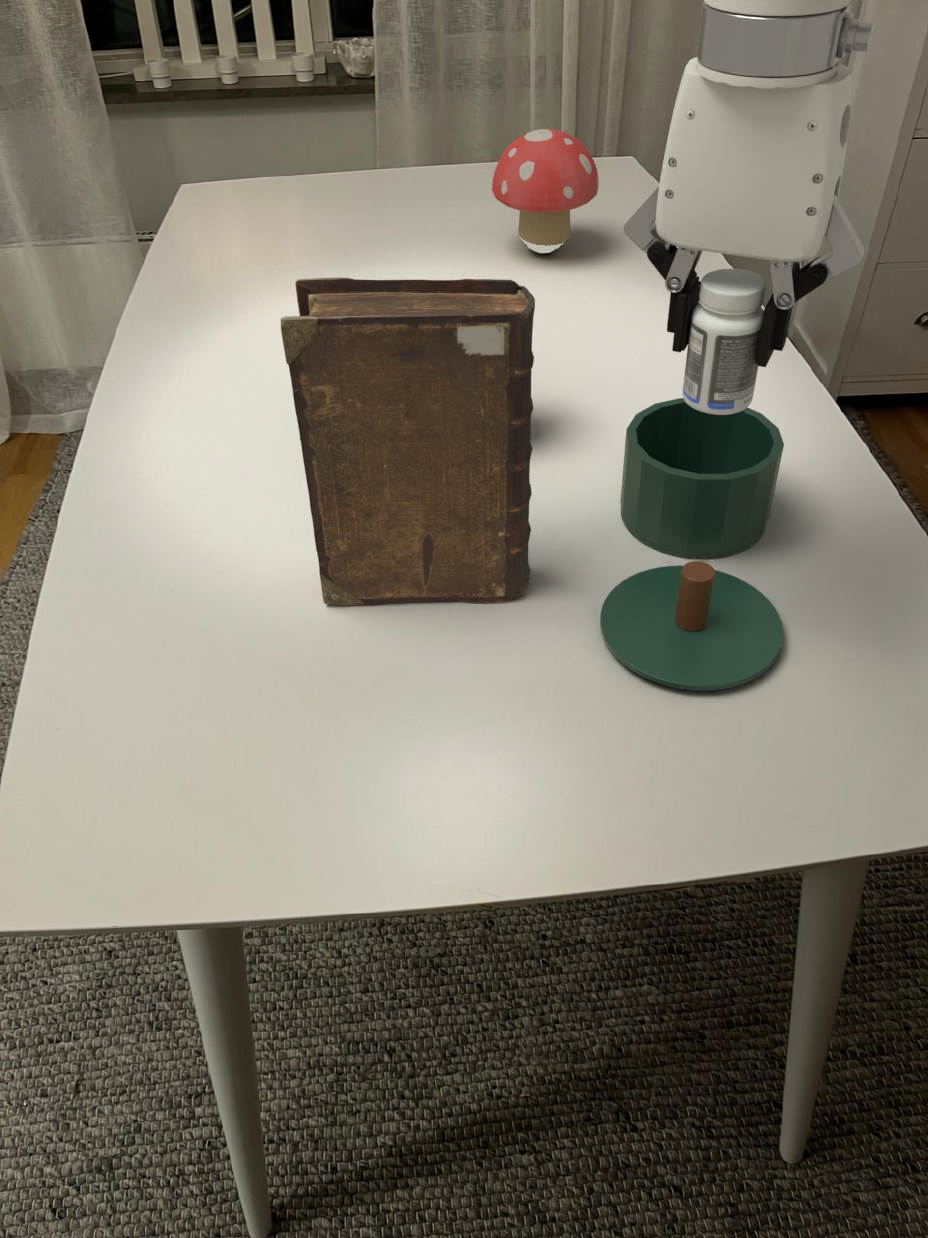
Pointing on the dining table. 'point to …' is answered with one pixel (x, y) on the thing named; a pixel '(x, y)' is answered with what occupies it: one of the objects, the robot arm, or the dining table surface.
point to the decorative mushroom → (545, 183)
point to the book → (415, 435)
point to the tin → (699, 479)
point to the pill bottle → (724, 342)
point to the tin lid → (691, 627)
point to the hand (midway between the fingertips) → (723, 347)
